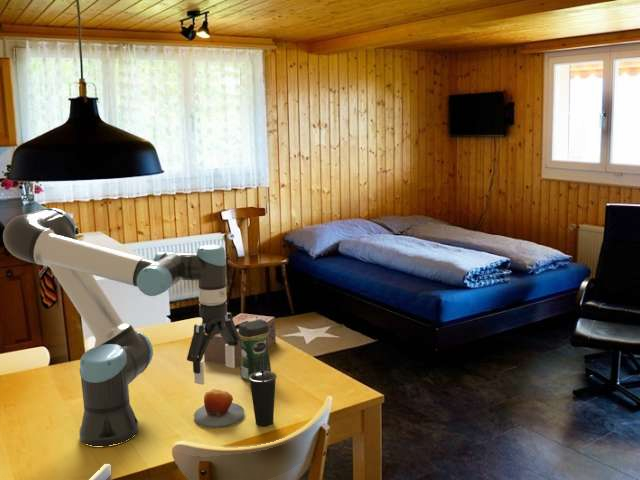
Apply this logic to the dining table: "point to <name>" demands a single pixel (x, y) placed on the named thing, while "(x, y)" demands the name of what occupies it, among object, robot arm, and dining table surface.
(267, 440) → the dining table surface
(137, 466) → the dining table surface
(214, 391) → the fruit
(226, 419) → the slate plate
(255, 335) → the coffee jar
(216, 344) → the tissue box cover
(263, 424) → the drinking cup
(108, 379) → the robot arm
